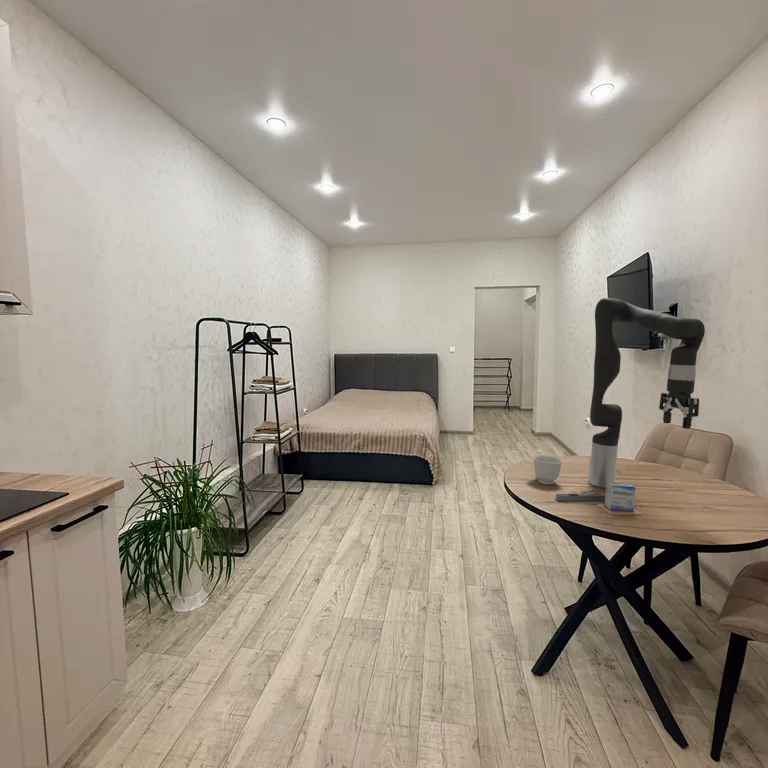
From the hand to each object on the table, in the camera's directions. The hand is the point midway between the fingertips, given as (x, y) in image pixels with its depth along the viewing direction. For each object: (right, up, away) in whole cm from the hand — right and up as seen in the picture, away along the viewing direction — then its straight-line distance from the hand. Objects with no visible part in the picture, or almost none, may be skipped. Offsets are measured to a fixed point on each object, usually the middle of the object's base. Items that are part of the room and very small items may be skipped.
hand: (676, 425), depth 141 cm
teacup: (-33, -26, +31) cm, 52 cm away
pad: (-18, -30, +3) cm, 35 cm away
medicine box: (-18, -29, +3) cm, 34 cm away
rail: (-24, -28, +11) cm, 39 cm away
